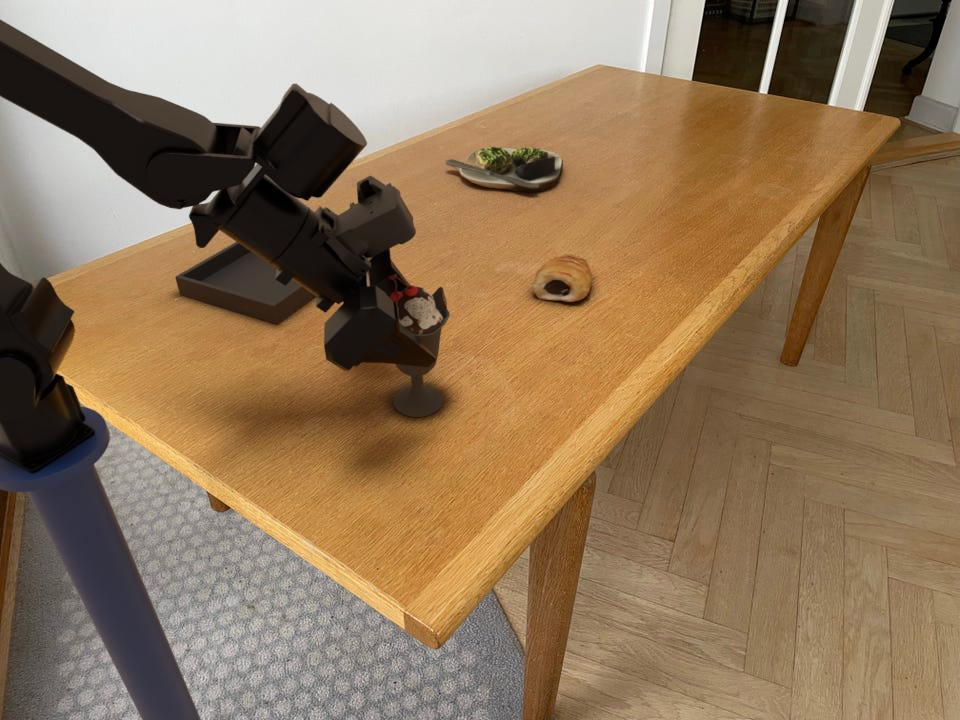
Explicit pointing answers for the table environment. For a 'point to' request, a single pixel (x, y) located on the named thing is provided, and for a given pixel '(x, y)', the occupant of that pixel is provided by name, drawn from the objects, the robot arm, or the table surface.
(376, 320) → the robot arm
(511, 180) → the salad plate
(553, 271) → the pastry
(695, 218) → the table surface
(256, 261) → the baking tray
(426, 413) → the sundae
